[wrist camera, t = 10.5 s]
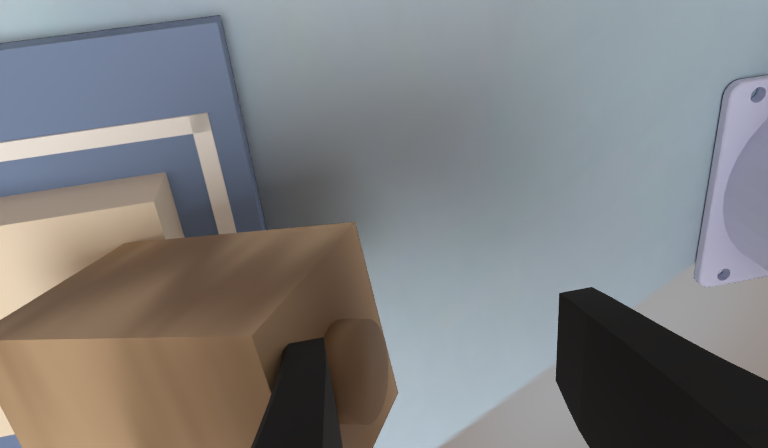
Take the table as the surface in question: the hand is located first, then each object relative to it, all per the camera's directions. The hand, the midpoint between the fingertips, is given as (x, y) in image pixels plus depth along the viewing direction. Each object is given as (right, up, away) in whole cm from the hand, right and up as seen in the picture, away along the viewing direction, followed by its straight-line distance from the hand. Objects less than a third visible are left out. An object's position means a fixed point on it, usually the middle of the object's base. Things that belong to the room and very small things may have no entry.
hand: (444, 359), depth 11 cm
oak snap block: (-8, -1, +4) cm, 9 cm away
